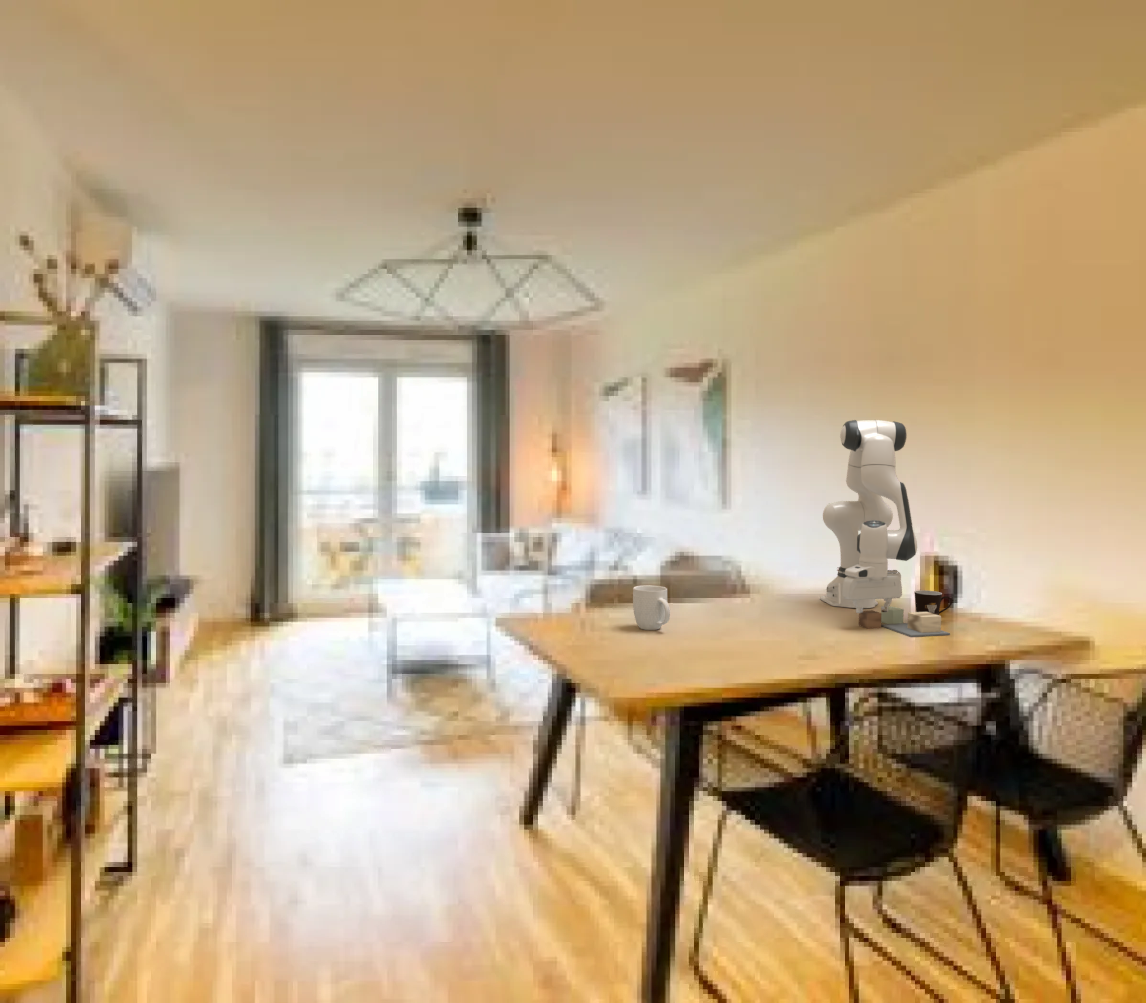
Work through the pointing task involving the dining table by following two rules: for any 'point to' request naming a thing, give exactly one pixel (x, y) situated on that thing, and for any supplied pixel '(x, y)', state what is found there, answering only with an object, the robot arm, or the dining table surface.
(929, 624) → the base block
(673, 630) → the dining table surface
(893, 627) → the mat
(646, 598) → the mug
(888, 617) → the sage block
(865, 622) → the walnut block
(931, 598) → the coffee mug
